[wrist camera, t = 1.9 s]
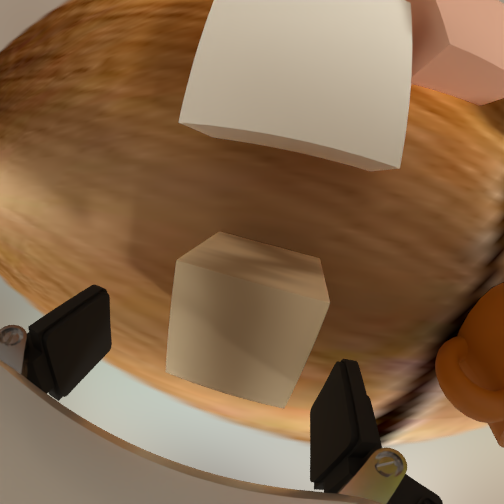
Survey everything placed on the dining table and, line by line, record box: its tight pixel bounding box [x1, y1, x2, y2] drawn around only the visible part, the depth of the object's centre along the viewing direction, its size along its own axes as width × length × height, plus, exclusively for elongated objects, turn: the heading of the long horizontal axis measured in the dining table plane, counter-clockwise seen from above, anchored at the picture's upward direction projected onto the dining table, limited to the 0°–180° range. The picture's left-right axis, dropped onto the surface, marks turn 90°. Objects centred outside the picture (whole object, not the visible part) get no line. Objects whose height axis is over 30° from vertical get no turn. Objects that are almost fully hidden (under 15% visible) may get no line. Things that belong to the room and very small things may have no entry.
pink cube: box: [405, 0, 504, 106], centre depth 8 cm, size 6×6×6 cm
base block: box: [178, 0, 412, 171], centre depth 11 cm, size 9×9×5 cm
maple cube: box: [166, 231, 330, 408], centre depth 14 cm, size 6×6×6 cm
